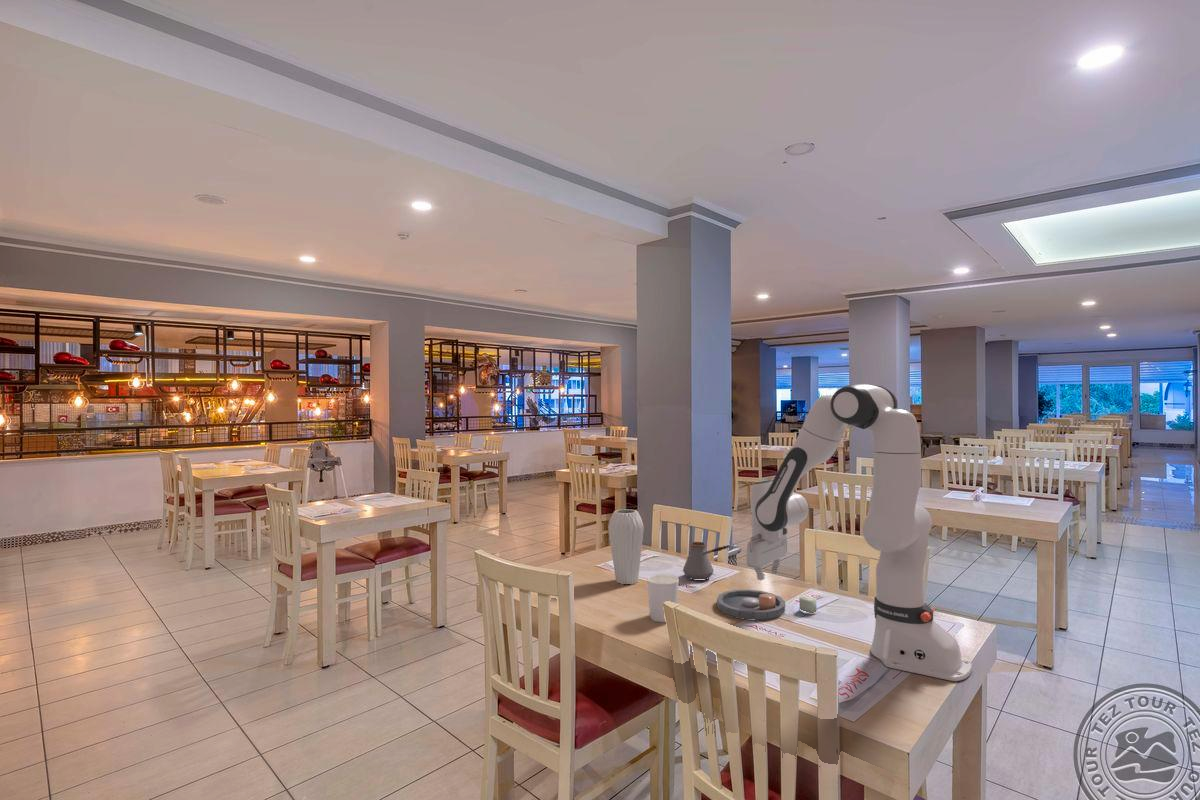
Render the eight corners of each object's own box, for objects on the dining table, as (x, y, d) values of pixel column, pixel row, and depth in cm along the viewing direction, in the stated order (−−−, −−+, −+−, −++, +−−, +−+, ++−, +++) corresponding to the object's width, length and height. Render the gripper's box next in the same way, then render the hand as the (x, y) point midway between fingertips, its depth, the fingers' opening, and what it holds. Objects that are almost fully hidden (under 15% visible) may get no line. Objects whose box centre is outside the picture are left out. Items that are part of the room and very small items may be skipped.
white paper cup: (654, 625, 170) (653, 585, 170) (643, 613, 179) (642, 575, 179) (684, 621, 172) (683, 581, 172) (672, 610, 182) (671, 572, 182)
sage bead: (818, 611, 179) (818, 598, 179) (813, 615, 175) (813, 602, 175) (802, 608, 182) (802, 595, 182) (797, 612, 178) (797, 599, 178)
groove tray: (796, 606, 183) (796, 599, 183) (764, 626, 168) (764, 617, 168) (738, 592, 197) (738, 585, 197) (704, 609, 182) (704, 601, 182)
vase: (645, 587, 205) (644, 514, 205) (609, 587, 205) (607, 515, 205) (643, 576, 218) (642, 507, 218) (609, 576, 218) (608, 508, 219)
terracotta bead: (778, 608, 178) (778, 596, 178) (770, 613, 175) (770, 600, 175) (763, 605, 182) (763, 592, 182) (756, 609, 178) (755, 596, 178)
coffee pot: (676, 577, 216) (676, 538, 216) (697, 571, 223) (696, 533, 223) (720, 591, 199) (720, 548, 199) (741, 584, 206) (740, 543, 207)
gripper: (758, 539, 169) (761, 585, 168) (790, 527, 183) (792, 570, 183) (740, 536, 173) (742, 582, 173) (772, 525, 188) (774, 567, 187)
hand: (768, 576), depth 178 cm, fingers open, 8 cm apart
